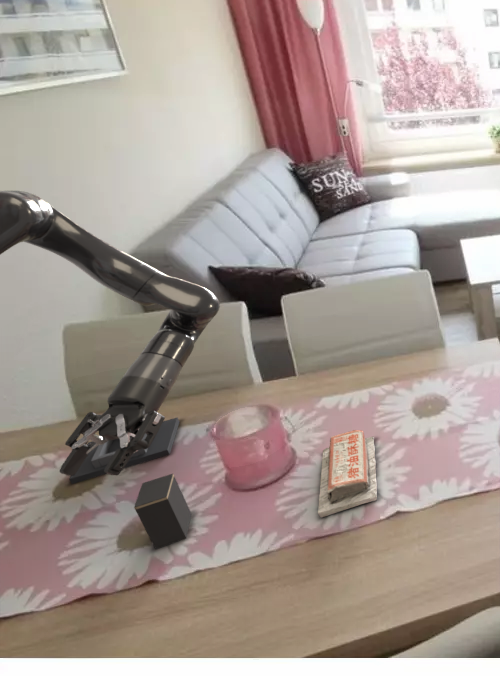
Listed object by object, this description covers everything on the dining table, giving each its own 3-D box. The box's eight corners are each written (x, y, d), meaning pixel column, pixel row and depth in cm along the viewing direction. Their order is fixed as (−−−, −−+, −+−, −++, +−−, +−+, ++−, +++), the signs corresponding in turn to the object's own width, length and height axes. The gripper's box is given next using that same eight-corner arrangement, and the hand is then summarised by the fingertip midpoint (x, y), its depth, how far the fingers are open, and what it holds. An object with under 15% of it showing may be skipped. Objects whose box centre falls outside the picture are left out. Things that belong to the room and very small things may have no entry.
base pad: (72, 484, 106) (64, 471, 105) (90, 447, 116) (84, 435, 115) (169, 455, 113) (164, 442, 112) (179, 422, 123) (174, 410, 121)
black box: (155, 550, 92) (133, 507, 88) (162, 524, 97) (142, 482, 93) (186, 539, 93) (166, 496, 90) (192, 514, 98) (173, 473, 95)
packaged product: (318, 436, 110) (370, 422, 113) (324, 454, 111) (374, 440, 115) (312, 500, 94) (373, 481, 98) (319, 520, 96) (378, 501, 100)
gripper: (96, 375, 96) (29, 466, 86) (165, 372, 94) (106, 465, 84) (129, 394, 102) (71, 482, 91) (195, 392, 100) (143, 481, 89)
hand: (88, 474), depth 87 cm, fingers open, 8 cm apart
